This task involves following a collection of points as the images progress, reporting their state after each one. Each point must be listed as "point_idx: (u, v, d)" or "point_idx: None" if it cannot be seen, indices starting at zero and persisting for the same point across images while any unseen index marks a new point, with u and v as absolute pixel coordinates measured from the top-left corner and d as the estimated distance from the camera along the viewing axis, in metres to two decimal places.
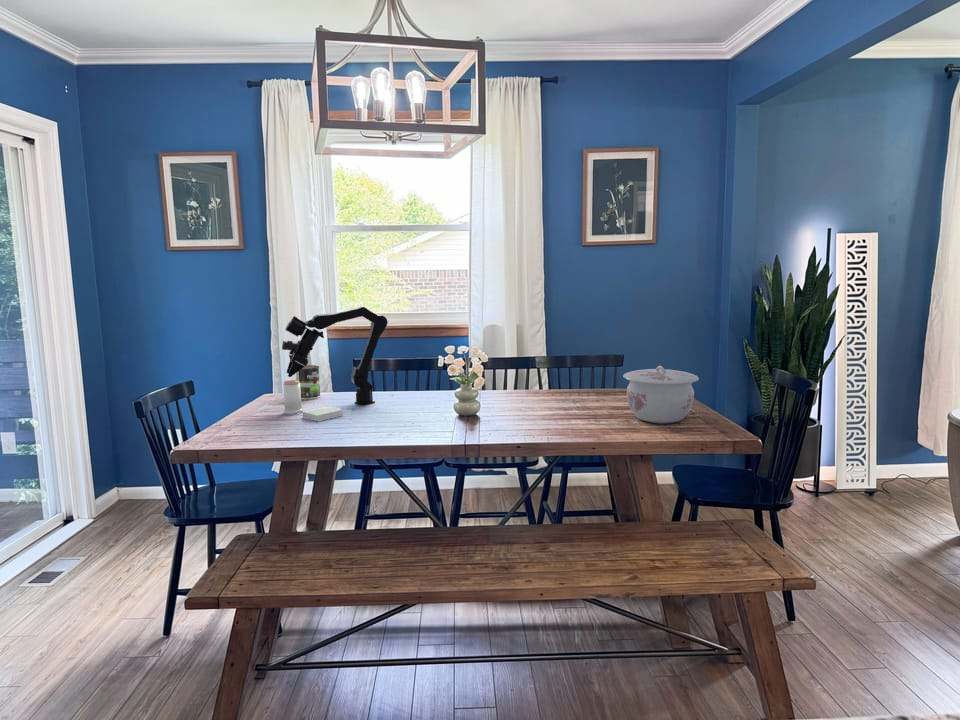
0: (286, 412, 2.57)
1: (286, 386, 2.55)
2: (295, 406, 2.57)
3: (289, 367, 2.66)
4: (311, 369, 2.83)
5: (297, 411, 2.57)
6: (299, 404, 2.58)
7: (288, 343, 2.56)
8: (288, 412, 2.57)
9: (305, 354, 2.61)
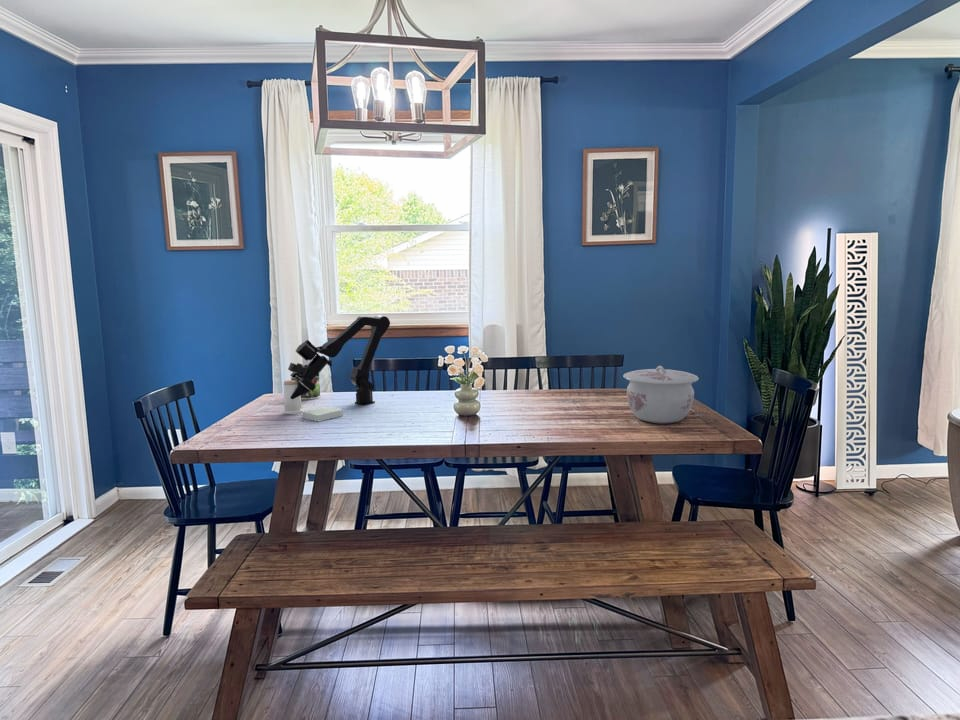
0: (286, 412, 2.57)
1: (286, 386, 2.55)
2: (295, 406, 2.57)
3: None
4: None
5: (297, 411, 2.57)
6: (299, 404, 2.58)
7: (298, 366, 2.54)
8: (288, 412, 2.57)
9: (311, 379, 2.60)
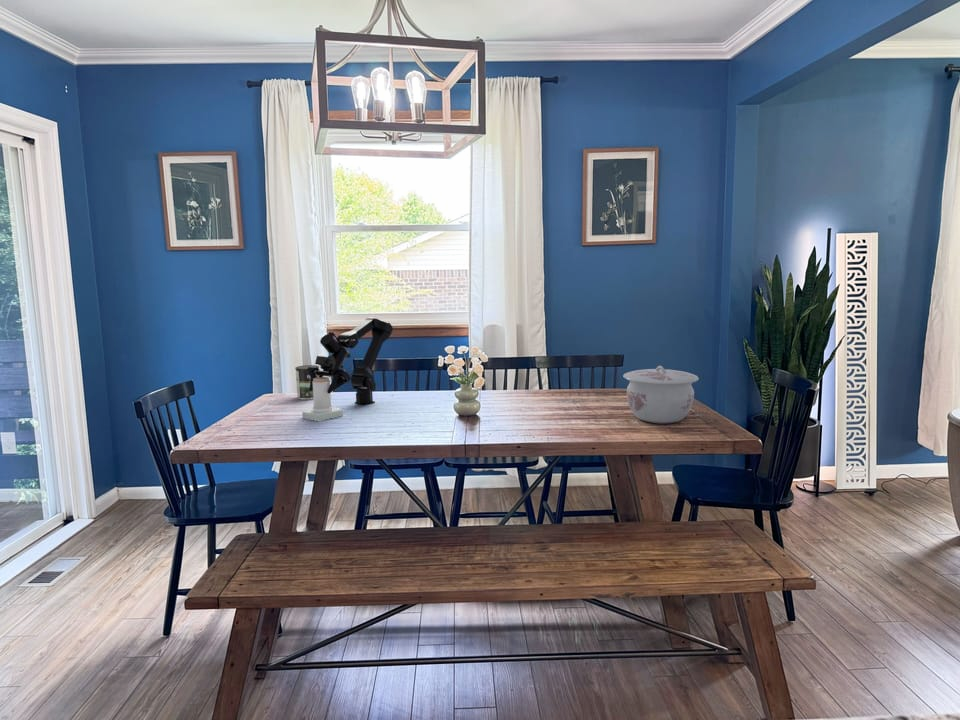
0: (320, 410, 2.48)
1: (320, 383, 2.47)
2: (329, 403, 2.50)
3: (312, 385, 2.52)
4: None
5: (330, 408, 2.51)
6: (330, 401, 2.52)
7: (331, 358, 2.48)
8: (323, 410, 2.48)
9: None
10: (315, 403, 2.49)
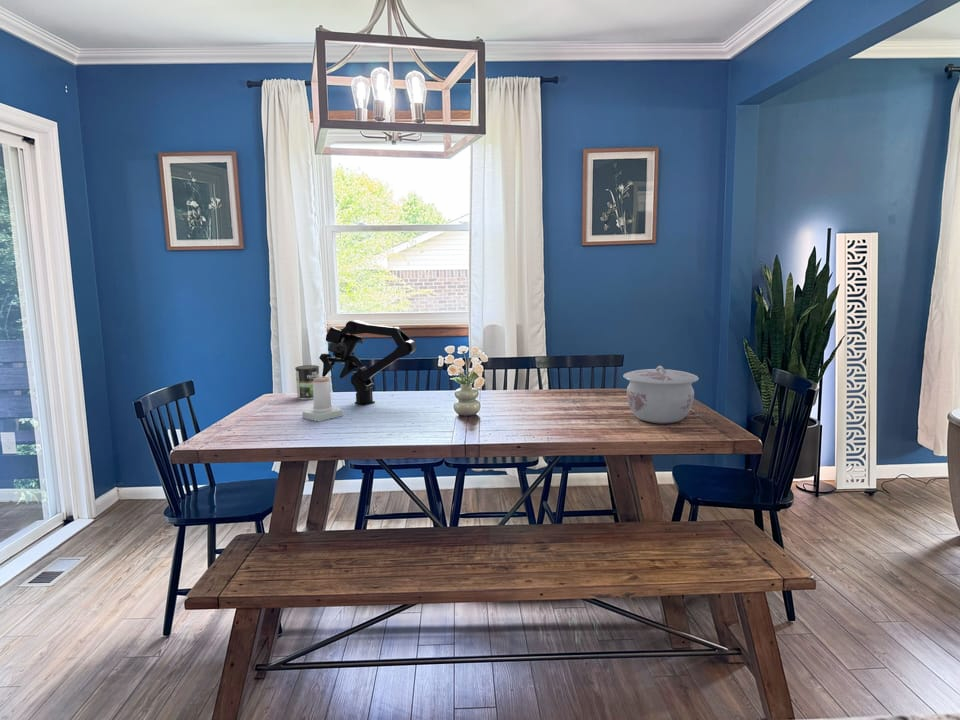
0: (320, 410, 2.48)
1: (320, 383, 2.47)
2: (329, 403, 2.50)
3: (325, 370, 2.66)
4: (311, 369, 2.83)
5: (330, 408, 2.51)
6: (330, 401, 2.52)
7: (343, 345, 2.62)
8: (323, 410, 2.48)
9: None
10: (315, 403, 2.49)
